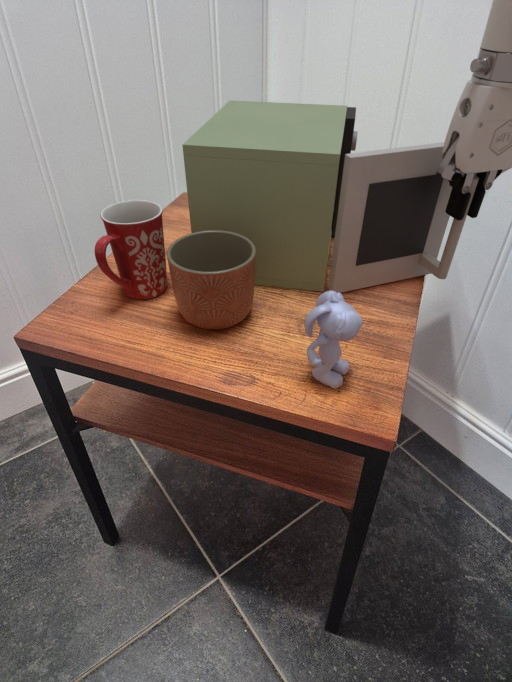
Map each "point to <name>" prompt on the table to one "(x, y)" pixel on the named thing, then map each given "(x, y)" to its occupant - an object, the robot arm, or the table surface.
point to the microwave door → (393, 218)
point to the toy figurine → (331, 336)
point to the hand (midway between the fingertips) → (460, 214)
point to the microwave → (272, 183)
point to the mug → (134, 247)
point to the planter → (213, 277)
